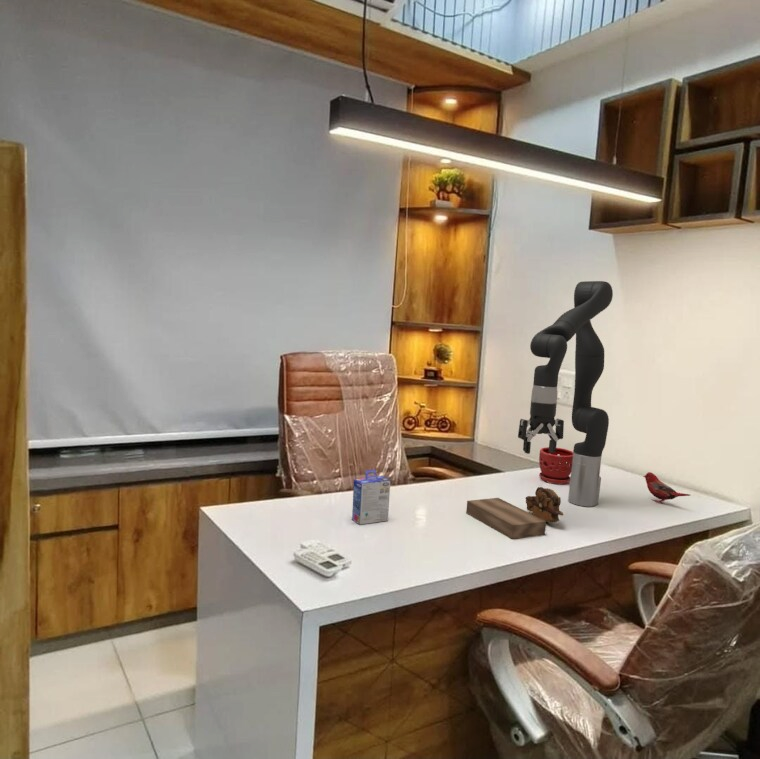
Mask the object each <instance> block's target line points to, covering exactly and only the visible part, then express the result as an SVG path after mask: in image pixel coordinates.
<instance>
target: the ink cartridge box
mask: <svg viewBox="0 0 760 759" xmlns="http://www.w3.org/2000/svg"><path fill="white" fill-rule="evenodd" d="M364 473H365V474H364V475H365V477H362V478H355V479H353V492H352V493H353V494H352V514H351V520H352V521H354V522H355V523H356V524H358V525H367V524H374V523H381V522H387V521H389V513H390V512H389V510H390V509H389V508H390V496H391V493H390V491H391V480H390V479H389V478H386V477H385V476H383V475H381V476H379V475H377V471H376V469H370V470H364ZM370 473H373V474H371V475H368V474H370Z"/></svg>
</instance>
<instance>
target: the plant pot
mask: <svg viewBox="0 0 760 759" xmlns="http://www.w3.org/2000/svg"><path fill="white" fill-rule="evenodd" d="M538 455H539V458H538V462H539V463H538V464H539V469H540V473H538V474H539V478H540V479H541V480H542V481H544V482H547V483H551V484H557V485H563V484H568V483H570V478H571V469H572V459H573V451H572V450H569V449H566V448H561V447H556V451H555V452H554V453H550V452H549V446H548V447H546V446H545V447H541V448H540V450H539V454H538Z"/></svg>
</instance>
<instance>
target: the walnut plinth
mask: <svg viewBox="0 0 760 759" xmlns="http://www.w3.org/2000/svg"><path fill="white" fill-rule="evenodd" d="M465 514H467V515H469V516H470V517H472V518H474V519H475V520H477V521H479V522H481V523H482V524H484V525H486V526H488V527H489V528H491V529H493V530H495V531H497V532H498V533H500V534H502V535H504V536H505V537H507V538H509V539H510V540H517V539H523V538H530V537H531V538H532V537H537V536H544V535H545V534H546V527H547V522H546V521H545V520H543V519H541V518H539V517H536V516H534V515H533V513H531V512H529V511H527V510H524V509H522V508H520V507H518V506H516V505H514V504H512V503H510V502H508V501H506V500H504V499H501V498H500V497H494V498H493V497H492V498H482V499H471V500H467V501H466V512H465Z"/></svg>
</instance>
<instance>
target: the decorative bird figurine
mask: <svg viewBox="0 0 760 759" xmlns="http://www.w3.org/2000/svg"><path fill="white" fill-rule="evenodd" d="M642 477H643V478H644V479H645V482H646V486H647V487H646V488H647V489H648V491H649V492H650V494H651V495H652V496H653V497H654V498H656V499H651V500H652V501H654V502H655V503H657V504H658V503H659V504H661V505H663V504H664V505H666V503H665V502H664V501H667V500H673V499H675V498H678V497H687V496H688V497H689V496H691V494H689V493H682V492H677V491H676V490H675V489H673V488H672V487H671V486H669V485H668V484H665V483H664V482H662V481H661V480H659V478H658V476H656V475H655V474H654V473H653V472H647V473H646V474H645V475H644V476H642ZM658 499H659V500H658Z"/></svg>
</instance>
